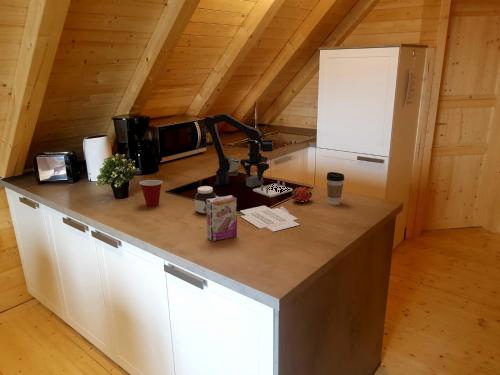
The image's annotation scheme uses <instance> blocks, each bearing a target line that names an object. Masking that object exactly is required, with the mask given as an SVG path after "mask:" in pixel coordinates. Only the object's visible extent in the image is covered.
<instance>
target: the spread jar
mask: <svg viewBox="0 0 500 375" xmlns="http://www.w3.org/2000/svg"><path fill="white" fill-rule="evenodd" d="M218 197H219V196H218V195H217V194H216V193H215V192H214V189H213V187H212V186H208V185H204V186H199V187H198V188H197V193H196V194H195V196H194V208H195V211H196V213H197V214H199V215H202V216H207V205H206V199H211V198H218Z"/></svg>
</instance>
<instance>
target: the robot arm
mask: <svg viewBox="0 0 500 375" xmlns="http://www.w3.org/2000/svg"><path fill="white" fill-rule="evenodd" d="M223 122H224V123H225V124H228V125H230V126H232V127H234V128H235V129H236V130H239V131H240V132H242V133H243V134H244V135H245V136H246V137H247V138H248V139H247V140H246V142H245V144H246V145H248V153H247V156H248V157H246V158H245V157H244V158H241V159H240V160H239V162H240V163H239V164H240V165H241V167H242V168H243V170H244V171H245V173H246V175H247V176H246V177H249V176H251V172H252V171H251V170H252V166H254V167H256V175H258V179H259V181H260V180H261V178H262V176H263V177H264V173H265V171H267V170H269V169H270V164H269V163H267V162H268V156H264V155H262V153H263V152H264V153H268V152H269V153H273V152H274V144H273V139H264V138H263V136H261V133H260V130H259V129H258V128H256V127H253V126H250V125H247V124H245V123H243V122H242V121H241V120H238V119H236V118H234V117H232V116H231V115H229V114H228V113H227V112H223V113H222V114H218V115H217V114H216V115H211V114H210V115H207V116H206V117H205V118H204V119H203V125H204V127H205V129H206V130H207V132H208V133H209V135H210V137H211V140H212V143H213V146H214V148H215V151H216V154H217V158H218V165H219V166H218V167H217V170H216V171H215V177H216V179H215V180H216V181H215V182H214V184H215V185H218V186H219V187H224V186H228V185H230V184H231V182H230V176H229V175H228V173H227V172H228V171H229V170H230V168H231V163H232V162H231V160H230V158H231V157H230V155H229V156H227V154H226V152H225V150H224V147H223V143H222V141H221V138H220V136H219V133H218V126H217V125H218V124H220V123H223ZM260 151H262V153H260Z"/></svg>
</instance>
